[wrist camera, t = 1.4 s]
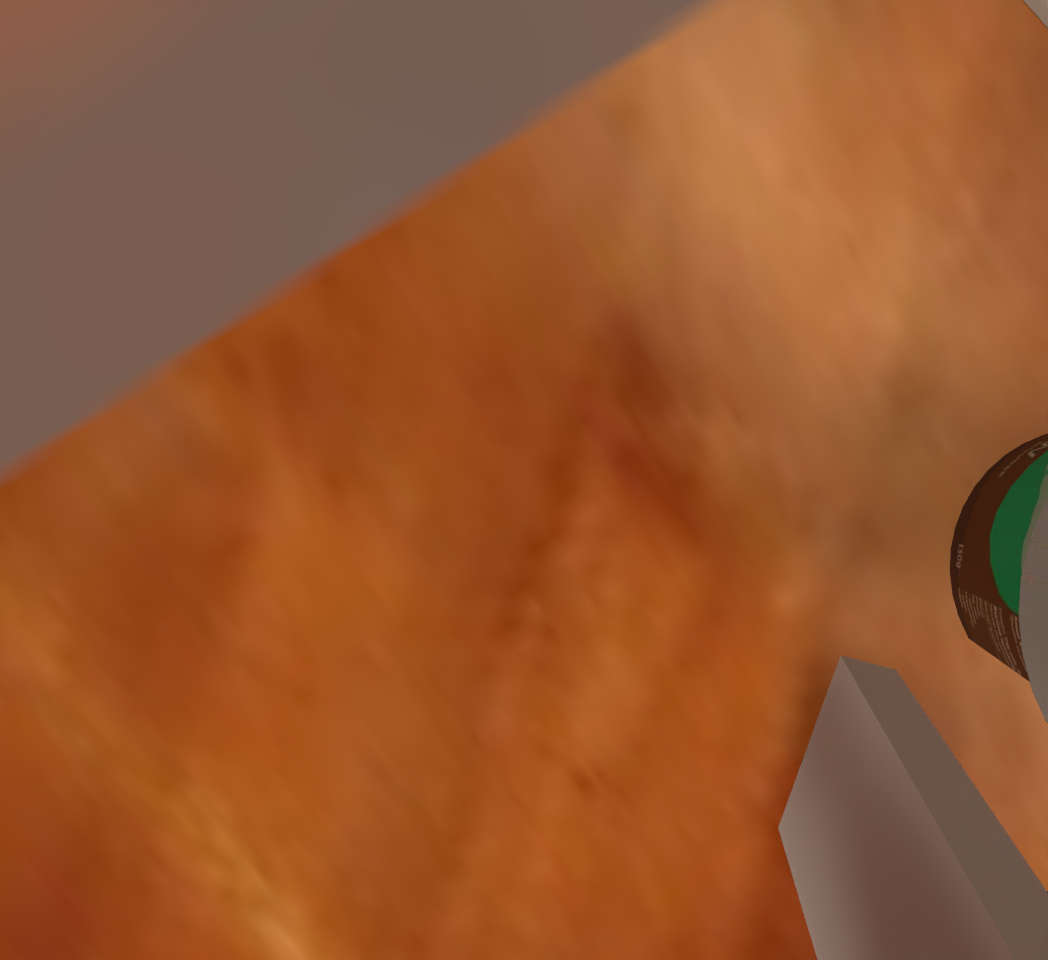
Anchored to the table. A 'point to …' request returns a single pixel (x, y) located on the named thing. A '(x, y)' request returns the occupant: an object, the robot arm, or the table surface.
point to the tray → (1039, 9)
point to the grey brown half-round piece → (1007, 564)
